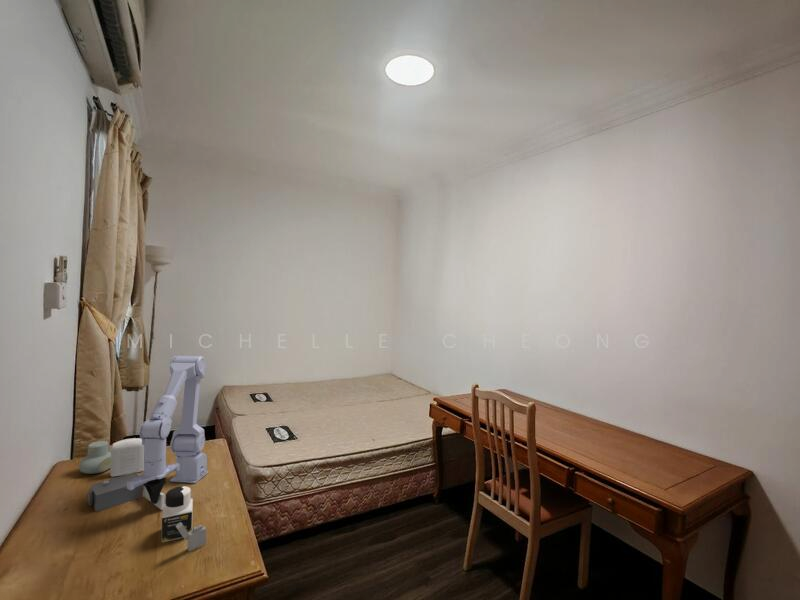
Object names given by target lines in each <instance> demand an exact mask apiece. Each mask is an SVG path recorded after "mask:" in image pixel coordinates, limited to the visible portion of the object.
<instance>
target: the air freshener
mask: <svg viewBox="0 0 800 600" xmlns="http://www.w3.org/2000/svg"><path fill="white" fill-rule="evenodd" d="M110 468H111V451H109V442H108V441H107V440H98V441H94V442H91V443H89V444H88V445H87V455H86V456H85V457H83V458H82V459H80V461H79V463H78V470H79V471H80V472H81V473H83V474H88V475H94V474H95V475H96V474H100V473H105V472H106V471H107V470H109V469H110Z"/></svg>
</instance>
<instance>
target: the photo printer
mask: <svg viewBox="0 0 800 600" xmlns="http://www.w3.org/2000/svg"><path fill="white" fill-rule="evenodd" d="M110 450H111V451H110V452H111V468H109V469H110V471H109V473H110V475H109V476H110V477H112V478H115V477H120V476H123V475H127V474H130V473H134V472H136V473H137V474H138V473H140V472H144V445H142V439H141V438H140V437H138V438H136V437H133V438H126V439H121V440H118V441H116V442H114V443H112V446H111V448H110Z"/></svg>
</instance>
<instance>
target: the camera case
mask: <svg viewBox="0 0 800 600" xmlns="http://www.w3.org/2000/svg"><path fill="white" fill-rule="evenodd" d="M138 476H139V474H138V472H137V473H136V472H134V473H130V474H126V475H120V476H115V477H112V478H109V479H106V480H103V481H102V480H101V481H99V482H94V483H91V484H90V490H89V492H88V493H87V502H88V503H87V504H88V506H89V507H91V506H92V507H93V509H94V511H95V512H96V513H97V512H100V511H103V510H107V509H109V508H112V507H116V506H119V505H122V504H125V503H128V502H131V501H134V500H137V499H140V498H143V497H144V485H143V484H142V485H140V486H137V487H135V488H134V489H133V490H129V489H127V482H129V481H131V480H133V479H135V478H136V477H138Z"/></svg>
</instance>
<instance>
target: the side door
mask: <svg viewBox="0 0 800 600" xmlns="http://www.w3.org/2000/svg"><path fill="white" fill-rule="evenodd" d="M143 497H144V498H145V499H146V500H148V501H149V502H150V503H151V500H150V496H149V493H148V491H147V489H146V488H145V486H144V485H143ZM164 504H166V493H164V492H162V491H161V492H160V495H159V498H158V502H157V503H156V504H153V505H154V506H155V507H156V508H157V509H159V510H161V511H163V509H164Z"/></svg>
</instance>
